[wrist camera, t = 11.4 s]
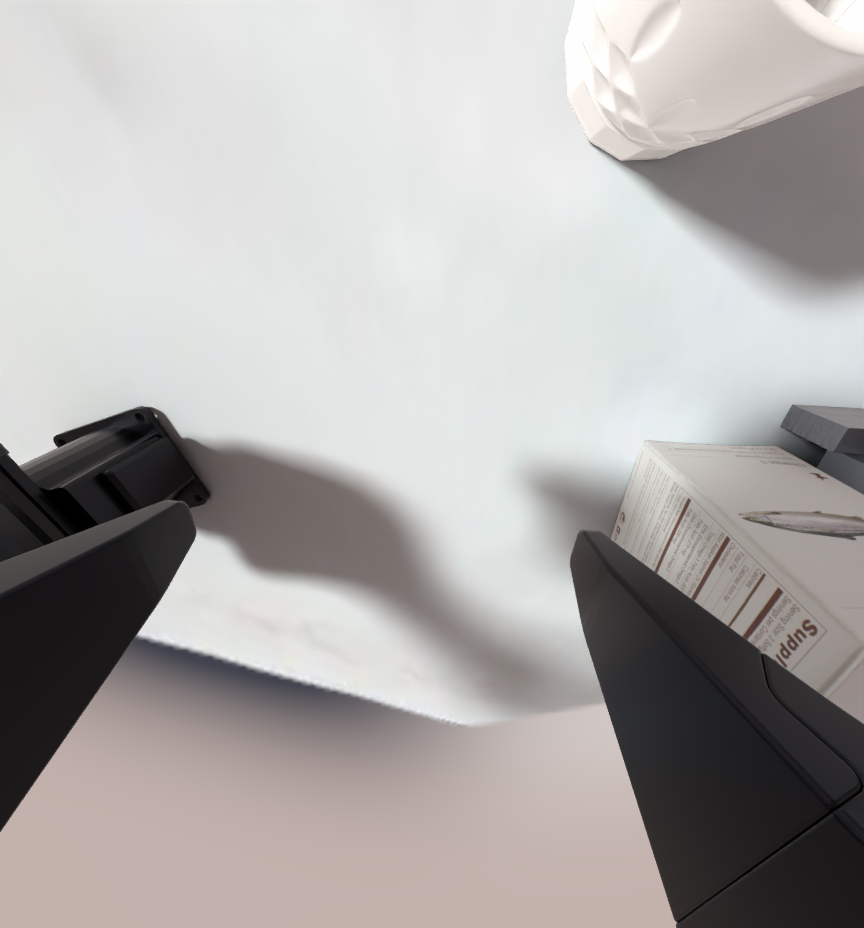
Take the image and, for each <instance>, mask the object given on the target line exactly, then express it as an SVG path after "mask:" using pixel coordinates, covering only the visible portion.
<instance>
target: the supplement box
mask: <svg viewBox="0 0 864 928" xmlns="http://www.w3.org/2000/svg"><path fill="white" fill-rule="evenodd" d="M611 540H612V541H614V542H615V543H617V544H618V545H619V546H621V547H622V548H623V549H625V550H626V551H627V552H629V553H630V554H631V555H633V556H634V557H635V558H637V559H638V560H639V561H641V562H642V563H644V564H645V565H646V566H648V567H649V568H650V569H652V570H653V571H654V572H656V573H657V574H658V575H660V576H661V577H662V578H664V579H665V580H667V581H668V582H669V583H671V584H672V585H673V586H675V587H676V588H677V589H679V590H680V591H681V592H683V593H684V594H685V595H687V596H688V597H689V598H691V599H692V600H694V601H695V602H696V603H698V604H699V605H700V606H702V607H703V608H704V609H706V610H707V611H708V612H710V613H711V614H712V615H714V616H715V617H716V618H718V619H719V620H721V621H722V622H723V623H725V624H726V625H727V626H729V627H730V628H731V629H733V630H734V631H735V632H737V633H738V634H739V635H741V636H742V637H743V638H745V639H746V640H748V641H749V642H750V643H752V644H753V645H754V646H756V647H757V648H758V649H759V650H760V651H761V653H765V654H767V655H768V656H769V657H771V658H772V659H773V660H775V661H776V662H777V663H779V664H780V665H781V666H783V667H784V668H785V669H787V670H788V671H790V672H791V673H792V674H794V675H795V676H796V677H798V678H799V679H801V680H802V681H803V682H805V683H806V684H808V685H809V686H810V687H812V688H813V689H814V690H816V691H817V692H819V693H820V694H821V695H823V696H824V697H826V698H827V699H828V700H830V701H831V702H833V703H834V704H836V705H837V706H839V707H840V708H841V709H843V710H844V711H846V712H847V713H849V714H850V715H852V716H853V717H855V718H856V719H858V720H859V721H860V722H862V723H863V724H864V495H863V494H862V493H860V492H858V491H856V490H854V489H853V488H851V487H849V486H847V485H845V484H844V483H842V482H840V481H838V480H837V479H835V478H833V477H831V476H830V475H828V474H826V473H824V472H822V471H821V470H819V469H817V468H816V467H814V466H812V465H810V464H808V463H807V462H805V461H803V460H801V459H799V458H797V457H796V456H794V455H792V454H790V453H788V452H787V451H785V450H783V449H781V448H779V447H777V446H730V445H708V444H691V443H674V442H661V441H650V440H644V441H643V444H642V446H641V449H640V452H639V454H638V457H637V460H636V463H635V466H634V469H633V472H632V475H631V478H630V481H629V484H628V487H627V489H626V492H625V495H624V498H623V501H622V504H621V507H620V510H619V513H618V516H617V519H616V522H615V526H614V528H613V531H612V535H611Z"/></svg>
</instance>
